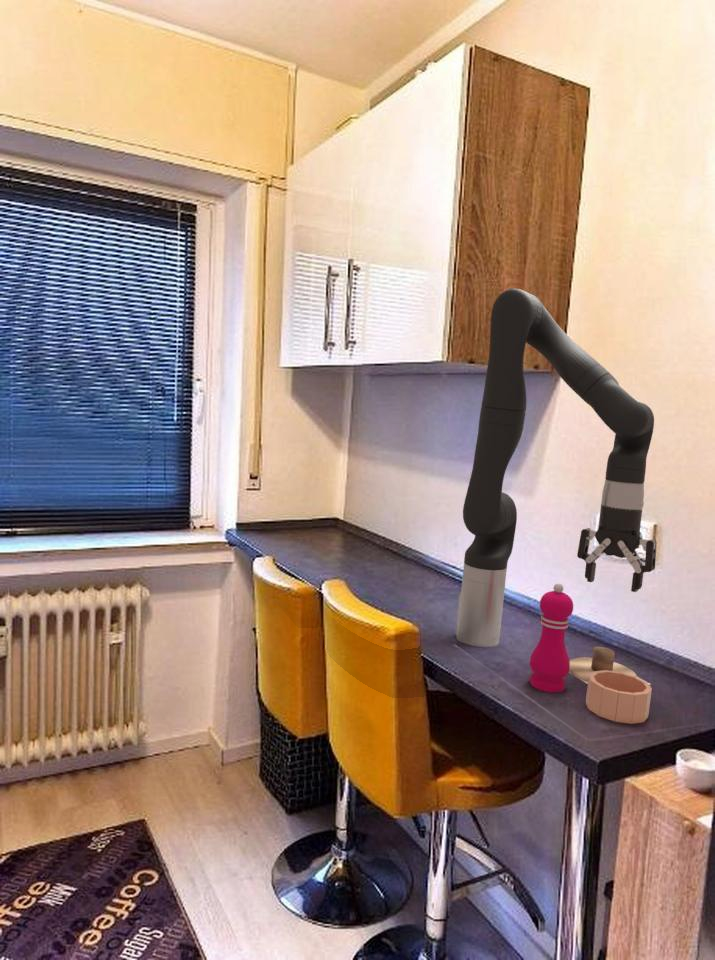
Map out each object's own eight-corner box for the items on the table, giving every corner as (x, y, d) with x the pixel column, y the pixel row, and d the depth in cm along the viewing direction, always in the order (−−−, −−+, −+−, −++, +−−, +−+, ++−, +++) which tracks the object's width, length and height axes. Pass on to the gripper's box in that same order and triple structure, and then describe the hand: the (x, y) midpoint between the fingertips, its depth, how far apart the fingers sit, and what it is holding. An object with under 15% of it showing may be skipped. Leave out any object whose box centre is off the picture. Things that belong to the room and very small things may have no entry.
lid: (553, 663, 140) (556, 640, 139) (604, 659, 145) (606, 637, 144) (597, 690, 128) (601, 665, 127) (651, 684, 133) (654, 660, 132)
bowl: (574, 702, 123) (577, 672, 122) (617, 697, 126) (621, 668, 126) (614, 728, 113) (618, 696, 113) (659, 722, 117) (664, 691, 117)
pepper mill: (573, 688, 129) (585, 585, 126) (556, 699, 123) (569, 591, 121) (538, 676, 133) (549, 576, 131) (520, 685, 128) (531, 582, 126)
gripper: (578, 500, 134) (569, 581, 135) (655, 511, 125) (644, 598, 127) (591, 498, 139) (583, 575, 141) (665, 508, 131) (655, 591, 133)
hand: (612, 586), depth 134 cm, fingers open, 8 cm apart
